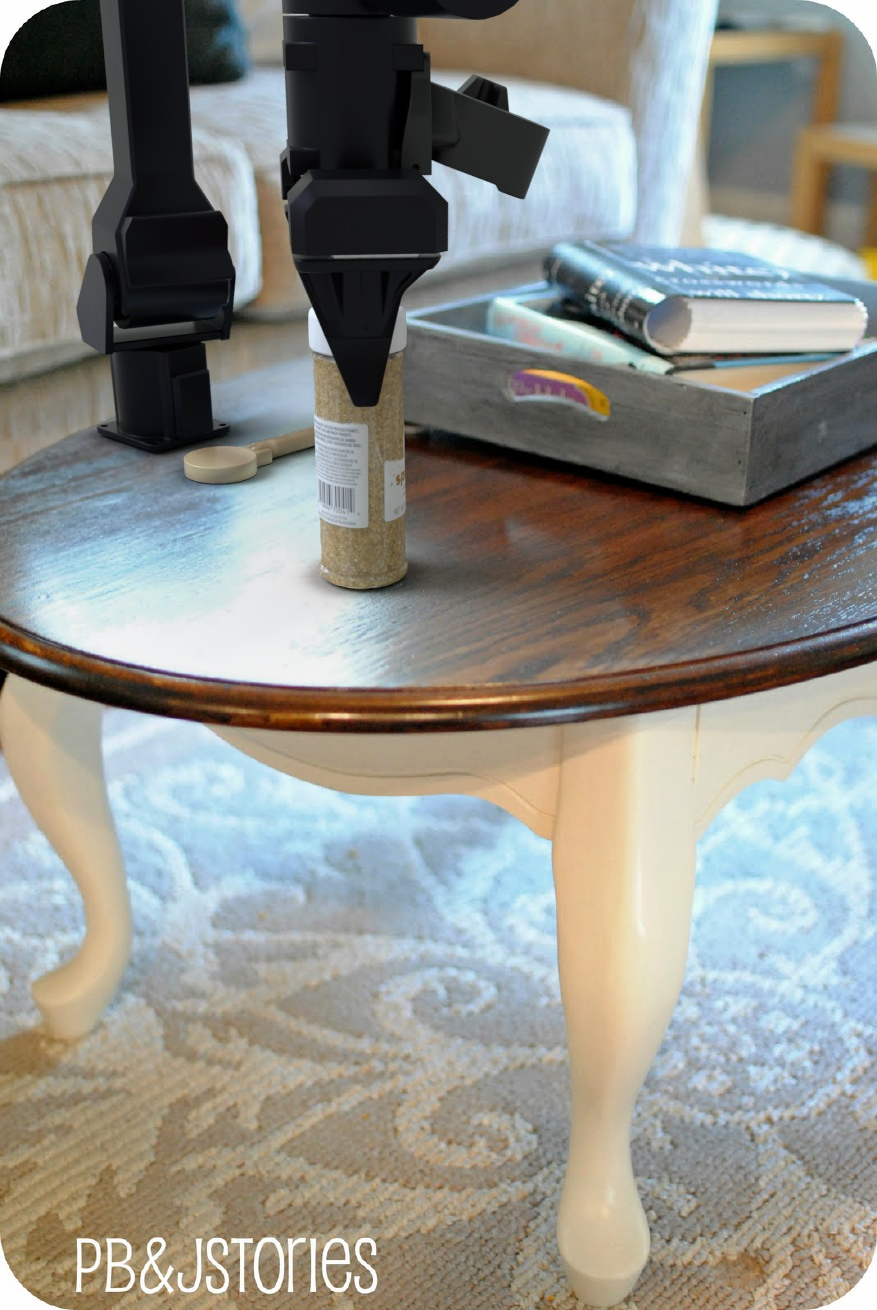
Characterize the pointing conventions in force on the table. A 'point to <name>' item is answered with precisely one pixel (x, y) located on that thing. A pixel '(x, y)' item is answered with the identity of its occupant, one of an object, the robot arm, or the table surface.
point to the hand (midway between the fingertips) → (357, 379)
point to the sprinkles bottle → (360, 470)
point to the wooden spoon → (242, 457)
